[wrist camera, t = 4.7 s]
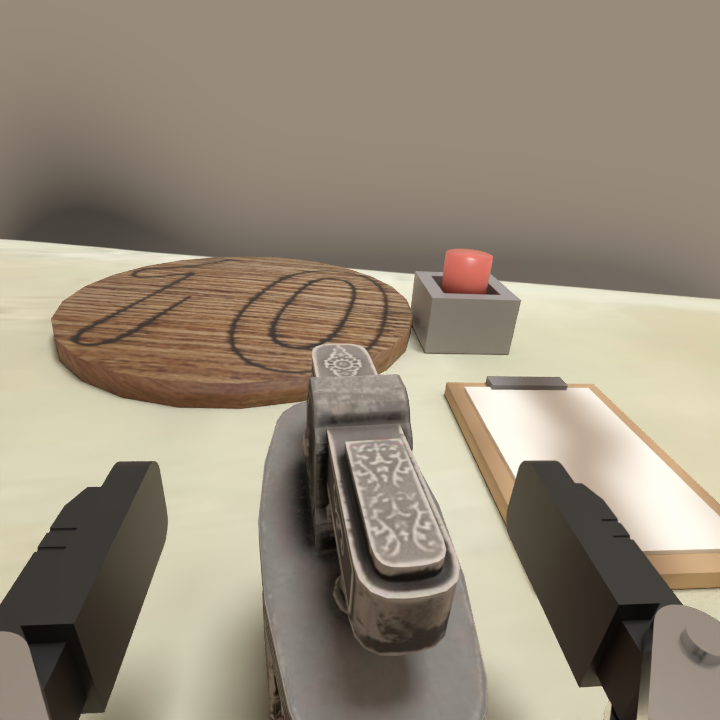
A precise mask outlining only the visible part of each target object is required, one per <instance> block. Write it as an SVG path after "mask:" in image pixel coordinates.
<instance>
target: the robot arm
mask: <svg viewBox="0 0 720 720" xmlns="http://www.w3.org/2000/svg"><path fill="white" fill-rule="evenodd" d="M506 521H507V529H508V533H509V536H510V539H511V541H512V543H513V545H514V548H515V550H516V552H517V554H518V556H519V558H520V561H521V563H522V565H523V567H524V569H525V571H526V574H527V576H528V578H529V580H530V582H531V584H532V586H533V589H534V591H535V593H536V595H537V597H538V599H539V602H540V604H541V606H542V608H543V610H544V612H545V615H546V617H547V619H548V621H549V623H550V625H551V627H552V630H553V632H554V634H555V636H556V638H557V640H558V643H559V645H560V647H561V649H562V651H563V653H564V656H565V658H566V660H567V662H568V664H569V666H570V669H571V671H572V673H573V675H574V677H575V679H576V681H577V684H578V686H579V687H594V686H602V687H603V689H604V691H605V693H606V695H607V697H608V699H609V701H608V703H607V705H606V708H605V712H604V719H603V720H720V622H719V621H718V620H716V619H715V618H713V617H711V616H710V615H708V614H706V613H704V612H702V611H700V610H697V609H695V608H692V607H688V606H684V605H683V604H682V603H681V602H680V600H679V599H678V598H677V597H676V595H675V594H674V593H673V591H672V590H671V589H670V587H669V586H668V585H667V583H666V582H665V581H664V579H663V578H662V577H661V575H660V574H659V573H658V571H657V570H656V569H655V567H654V566H653V565H652V563H651V562H650V561H649V559H648V558H647V557H646V555H645V554H644V553H643V552H642V550H641V549H640V548H639V546H638V545H637V544H636V542H635V541H634V540H633V539H631V538H630V534H629V533H628V532H627V530H626V529H625V528H624V526H623V525H622V524H621V523H618V518H617V517H616V516H615V514H614V513H613V512H612V510H611V509H610V508H609V506H608V505H607V504H606V503H605V501H604V500H603V499H602V498H601V497H599V496H598V495H597V494H595V493H594V492H593V491H592V490H590V489H589V488H588V487H586V486H585V485H584V484H583V483H575V482H574V481H573V479H572V478H571V477H570V475H569V474H568V472H567V471H566V470H565V468H564V467H563V465H562V464H561V463H560V462H558V461H556V460H529V461H523V462H522V463H521V464H520V466H519V468H518V472H517V476H516V479H515V483H514V486H513V490H512V494H511V497H510V501H509V505H508V508H507V515H506ZM167 526H168V516H167V509H166V503H165V497H164V491H163V485H162V480H161V474H160V468H159V465H158V463H157V462H155V461H131V462H117V463H116V464H115V465H114V466H113V468H112V469H111V471H110V473H109V475H108V476H107V478H106V480H105V481H104V483H103V485H102V486H101V487H87V488H86V489H85V490H83V491H82V492H81V493H80V494H78V495H77V496H76V497H75V498H74V499H72V500H71V501H70V502H69V503H68V504H66V505H65V506H64V507H63V509H62V511H61V512H60V514H59V515H58V517H57V518H56V520H55V521H54V523H53V524H52V526H51V527H50V532H49V533H47V534H46V535H45V537H44V538H43V540H42V541H41V543H40V544H39V546H38V550H37V552H34V553H33V555H32V557H31V558H30V560H29V561H28V563H27V564H26V566H25V567H24V569H23V570H22V572H21V573H20V575H19V577H18V578H17V580H16V581H15V583H14V584H13V586H12V587H11V589H10V590H9V592H8V593H7V595H6V596H5V598H4V600H3V601H2V603H1V604H0V720H79V717H80V715H81V714H84V713H102V712H105V709H106V706H107V703H108V700H109V698H110V695H111V692H112V689H113V686H114V684H115V681H116V678H117V675H118V672H119V670H120V667H121V664H122V661H123V658H124V656H125V653H126V650H127V647H128V644H129V642H130V639H131V636H132V633H133V630H134V628H135V625H136V622H137V619H138V616H139V614H140V611H141V608H142V605H143V602H144V600H145V597H146V594H147V591H148V589H149V586H150V583H151V580H152V577H153V575H154V572H155V569H156V566H157V563H158V561H159V558H160V555H161V552H162V549H163V547H164V543H165V540H166V534H167Z"/></svg>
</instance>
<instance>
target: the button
mask: <svg viewBox="0 0 720 720" xmlns="http://www.w3.org/2000/svg"><path fill="white" fill-rule="evenodd" d="M492 260H493V256H492V255H490V254H488V253H486V252H482V251H478V250H471V249H451V250H448V251H446V257H445V264H444V271H443V278H442V285H441V290H442V291H443V293H451V294H483V295H486V291H487V286H488V281H489V276H490V270H491V265H492Z"/></svg>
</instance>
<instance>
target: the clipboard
mask: <svg viewBox="0 0 720 720" xmlns="http://www.w3.org/2000/svg"><path fill="white" fill-rule="evenodd" d="M445 396H446V398H447V400H448V403H449V405H450V407H451V409H452V411H453V413H454V415H455V417H456V420H457V422H458V424H459V426H460V428H461V430H462V432H463V434H464V437H465V439H466V441H467V443H468V445H469V447H470V449H471V451H472V454H473V456H474V458H475V460H476V462H477V464H478V466H479V468H480V471H481V473H482V475H483V477H484V479H485V481H486V483H487V485H488V488H489V490H490V492H491V494H492V496H493V498H494V500H495V502H496V504H497V507H498V509H499V511H500V513H501V515H502V517H503V519H504V521H505V524H506V526H507V521H506V515H507V508H508V505H509V501H510V497H511V494H512V490H513V486H514V483H515V479H516V476H517V472H518V468H519V466H520V464H521V463H522V462H523V461H529V460H556V461H558V462H560V463H561V464H562V465H563V467H564V468H565V470H566V471H567V472H568V474H569V475H570V477H571V478H572V479H573V481H574V482H575V483H583V484H584V485H585V486H586V487H588V488H589V489H590V490H592V491H593V492H594V493H595V494H597V495H598V496H599V497H601V498H602V499H603V500H604V501H605V503H606V504H607V505H608V506H609V508H610V509H611V510H612V512H613V513H614V514H615V516H616V517H617V518H618V523H621V524H622V525H623V526H624V528H625V529H626V530H627V532H628V533H629V534H630V538H631V539H633V540H634V541H635V542H636V544H637V545H638V546H639V548H640V549H641V550H642V552H643V553H644V554H645V555H646V557H647V558H648V559H649V561H650V562H651V563H652V565H653V566H654V567H655V569H656V570H657V571H658V573H659V574H660V575H661V577H662V578H663V579H664V581H665V582H666V583H667V585H668V586H669V587H670V589H689V588H715V587H720V504H719V503H718V502H717V501H716V500H715V499H714V498H713V497H712V496H711V495H709V494H708V493H707V492H706V491H705V490H704V489H703V488H702V487H701V486H700V485H699V484H698V483H697V482H696V481H695V480H694V479H693V478H692V477H691V476H689V475H688V474H687V473H686V472H685V471H684V470H683V469H682V468H681V467H680V466H679V465H678V464H677V463H676V462H675V461H674V460H673V459H672V458H671V457H669V456H668V455H667V454H666V453H665V452H664V451H663V450H662V449H661V448H660V447H659V446H658V445H657V444H656V443H655V442H654V441H653V440H652V439H651V438H649V437H648V436H647V435H646V434H645V433H644V432H643V431H642V430H641V429H640V428H639V427H638V426H637V425H636V424H635V423H634V422H633V421H632V420H631V419H629V418H628V417H627V416H626V415H625V414H624V413H623V412H622V411H621V410H620V409H619V408H618V407H617V406H616V405H615V404H614V403H613V402H612V401H611V400H609V399H608V398H607V397H606V396H605V395H604V394H603V393H602V392H601V391H600V390H599V389H598V388H597V387H596V386H595V385H594V384H566V383H565V382H564V381H563V380H562V379H561V378H560V377H505V376H487V379H486V383H446V389H445Z"/></svg>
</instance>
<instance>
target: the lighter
mask: <svg viewBox="0 0 720 720" xmlns="http://www.w3.org/2000/svg"><path fill="white" fill-rule="evenodd" d="M412 449H413V437H412V430H411V424H410V407H409V399H408V395H407V391H406V387H405V385H404V384H403V382H402V380H401V378H400V376H399V375H396V374H395V375H378V374H377V371H376V369H375V367H374V365H373V362H372V360H371V358H370V355H369V353H368V352H367V350H366V349H365V348H363V347H361V346H360V345H355V344H344V343H338V344H322V345H319V346H316V347H315V348H314V349H313V350H312V377H309V381H308V387H307V401H305V402H302V403H299V404H296V405H294V406H292V407H290V408H289V409H287V410H286V411H284V412H283V413H282V414H281V416H280V417H279V419H278V420H277V423H276V426H275V430H274V433H273V436H272V440H271V443H270V446H269V450H268V453H267V456H266V460H265V465H264V474H263V483H262V492H261V501H260V510H259V519H258V526H259V545H260V560H261V572H262V585H263V593H262V595H263V615H264V634H265V648H266V662H267V675H268V688H269V702H270V705H269V720H484V718H485V715H486V712H487V680H486V674H485V669H484V665H483V660H482V655H481V651H480V646H479V642H478V637H477V632H476V628H475V623H474V619H473V614H472V610H471V605H470V600H469V596H468V591H467V587H466V582H465V578H464V575H463V572H462V569H461V566H460V563H459V560H458V558H457V555H456V551H455V549H454V546H453V544H452V541H451V538H450V535H449V532H448V529H447V527H446V524H445V521H444V518H443V515H442V512H441V510H440V507H439V504H438V502H437V501H436V499H435V497H434V495H433V493H432V491H431V490H430V488H429V486H428V484H427V482H426V480H425V479H424V477H423V475H422V473H421V471H420V469H419V467H418V465H417V462H416V460H415V458H414V456H413V453H412Z"/></svg>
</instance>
